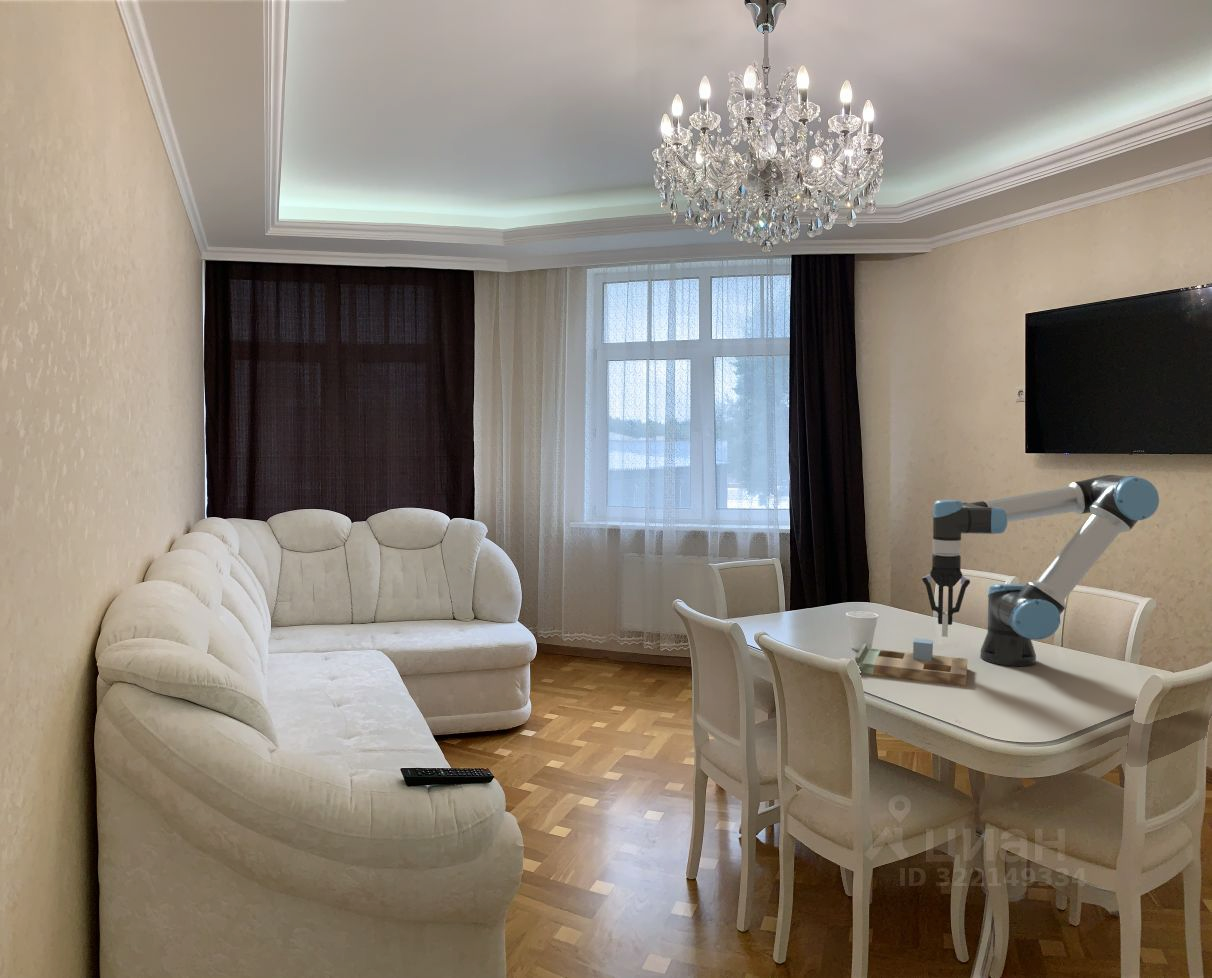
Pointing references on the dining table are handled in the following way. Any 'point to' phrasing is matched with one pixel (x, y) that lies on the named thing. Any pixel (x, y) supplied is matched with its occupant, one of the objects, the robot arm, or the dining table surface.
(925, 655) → the block
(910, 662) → the board
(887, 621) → the dining table surface
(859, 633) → the cup
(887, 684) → the dining table surface
